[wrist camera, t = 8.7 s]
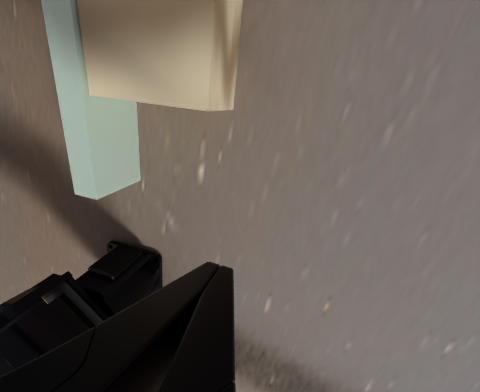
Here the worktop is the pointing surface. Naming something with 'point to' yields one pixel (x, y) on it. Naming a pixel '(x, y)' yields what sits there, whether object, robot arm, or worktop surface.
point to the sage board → (89, 112)
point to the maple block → (162, 51)
